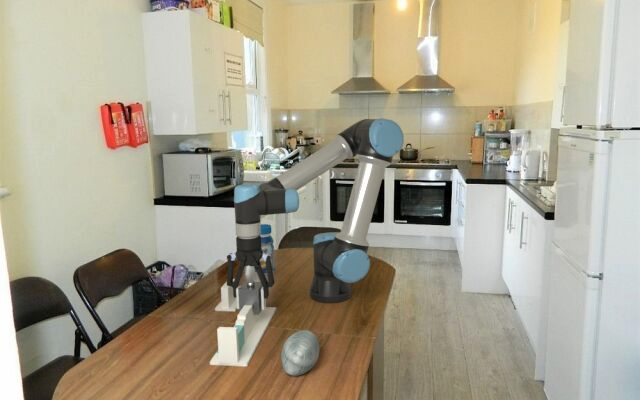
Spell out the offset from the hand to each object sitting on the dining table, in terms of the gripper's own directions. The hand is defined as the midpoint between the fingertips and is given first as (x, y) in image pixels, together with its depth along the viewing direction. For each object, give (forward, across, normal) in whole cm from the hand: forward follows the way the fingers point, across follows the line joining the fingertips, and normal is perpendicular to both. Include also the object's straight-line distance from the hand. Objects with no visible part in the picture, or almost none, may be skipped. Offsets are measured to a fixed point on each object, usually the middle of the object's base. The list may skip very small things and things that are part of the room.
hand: (251, 307), depth 146 cm
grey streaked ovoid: (+6, -19, +23) cm, 30 cm away
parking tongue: (+6, +12, -15) cm, 20 cm away
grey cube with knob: (+1, 0, 0) cm, 1 cm away
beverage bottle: (+6, +8, -51) cm, 52 cm away
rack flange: (+6, 0, +5) cm, 8 cm away
